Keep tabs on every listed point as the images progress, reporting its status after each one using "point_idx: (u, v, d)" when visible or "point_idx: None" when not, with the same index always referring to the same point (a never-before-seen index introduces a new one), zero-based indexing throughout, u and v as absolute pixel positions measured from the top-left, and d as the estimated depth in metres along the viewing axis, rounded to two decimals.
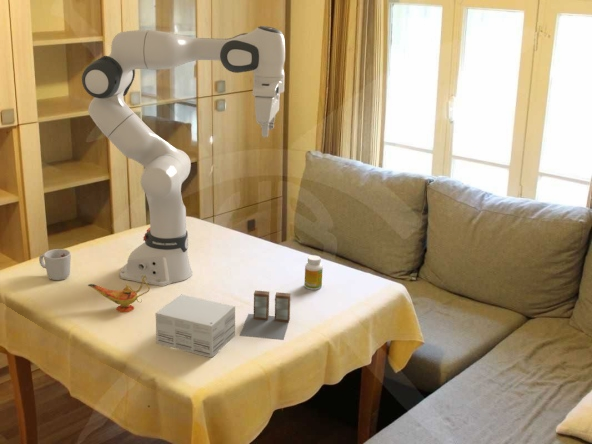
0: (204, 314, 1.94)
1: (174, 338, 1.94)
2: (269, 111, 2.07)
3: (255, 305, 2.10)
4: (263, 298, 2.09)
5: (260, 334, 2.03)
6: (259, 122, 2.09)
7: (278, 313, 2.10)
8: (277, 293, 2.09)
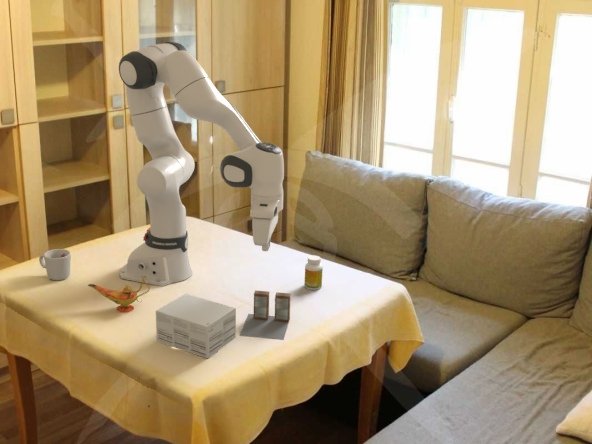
0: (202, 314, 1.94)
1: (173, 337, 1.95)
2: (267, 233, 1.99)
3: (255, 305, 2.10)
4: (263, 298, 2.09)
5: (260, 334, 2.03)
6: (257, 244, 2.01)
7: (278, 313, 2.10)
8: (277, 293, 2.09)
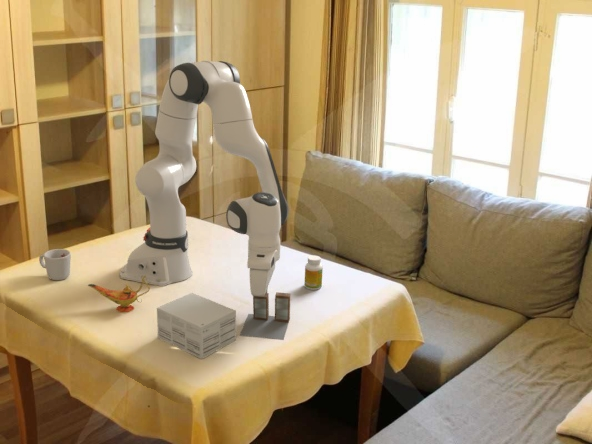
0: (200, 314, 1.94)
1: (171, 335, 1.96)
2: (264, 284, 1.99)
3: (254, 306, 2.09)
4: (262, 300, 2.08)
5: (260, 334, 2.03)
6: (254, 295, 2.01)
7: (278, 313, 2.10)
8: (277, 293, 2.09)
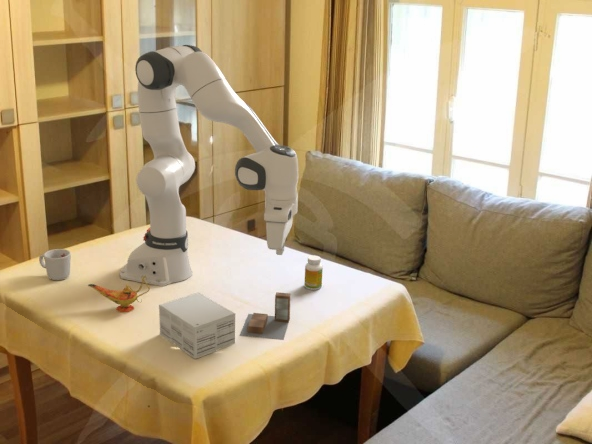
0: (198, 314, 1.94)
1: (170, 333, 1.97)
2: (281, 237, 1.96)
3: None
4: None
5: (260, 334, 2.03)
6: (271, 248, 1.98)
7: (278, 313, 2.10)
8: (277, 293, 2.09)
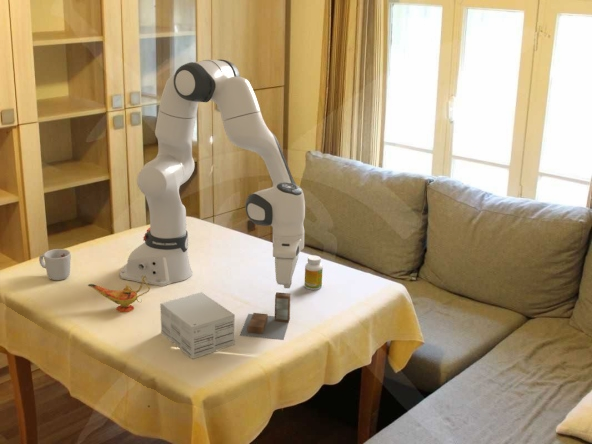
0: (198, 314, 1.94)
1: (170, 332, 1.98)
2: (290, 273, 2.02)
3: None
4: None
5: (260, 334, 2.03)
6: (280, 283, 2.04)
7: (278, 313, 2.10)
8: (277, 293, 2.09)
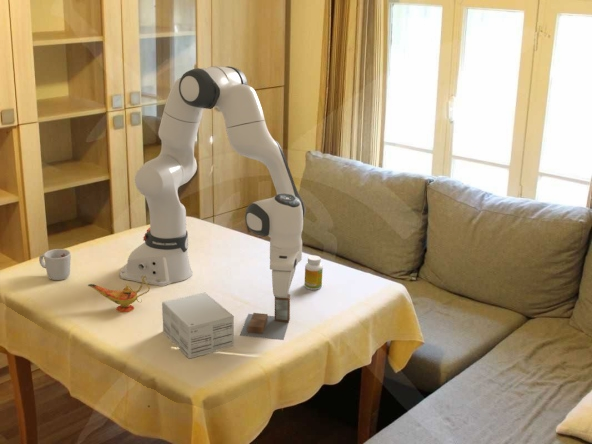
0: (197, 314, 1.94)
1: (170, 331, 1.98)
2: (287, 286, 1.99)
3: None
4: None
5: (260, 334, 2.03)
6: (277, 296, 2.00)
7: (278, 314, 2.09)
8: None
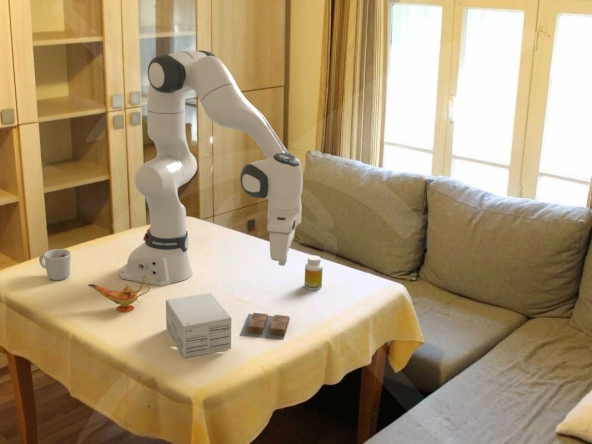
0: (195, 314, 1.94)
1: (171, 329, 1.99)
2: (285, 248, 1.91)
3: None
4: None
5: (260, 334, 2.03)
6: (274, 259, 1.93)
7: None
8: (271, 330, 2.03)
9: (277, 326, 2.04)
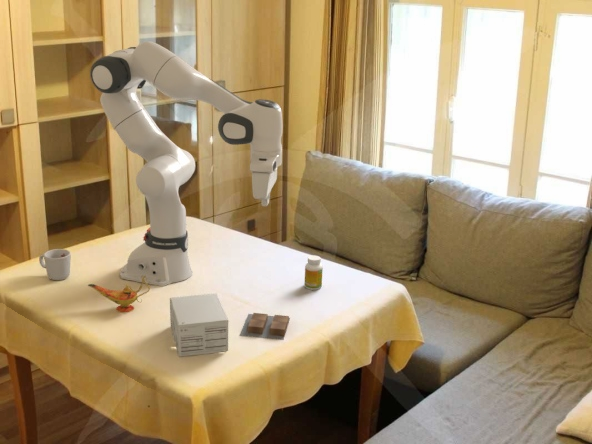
0: (193, 314, 1.94)
1: (172, 327, 2.00)
2: (266, 187, 2.04)
3: None
4: None
5: (260, 334, 2.03)
6: (256, 198, 2.06)
7: None
8: (271, 330, 2.03)
9: (277, 326, 2.04)
